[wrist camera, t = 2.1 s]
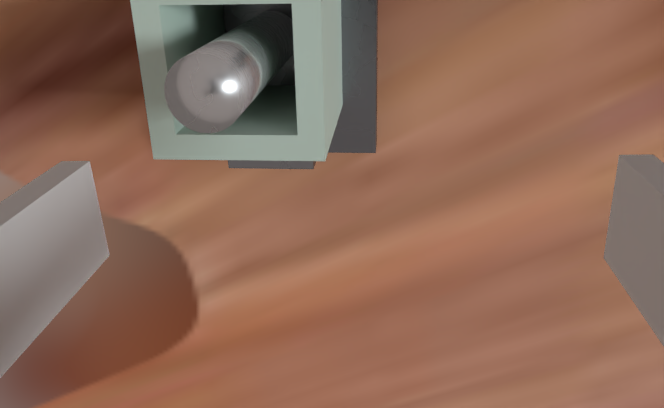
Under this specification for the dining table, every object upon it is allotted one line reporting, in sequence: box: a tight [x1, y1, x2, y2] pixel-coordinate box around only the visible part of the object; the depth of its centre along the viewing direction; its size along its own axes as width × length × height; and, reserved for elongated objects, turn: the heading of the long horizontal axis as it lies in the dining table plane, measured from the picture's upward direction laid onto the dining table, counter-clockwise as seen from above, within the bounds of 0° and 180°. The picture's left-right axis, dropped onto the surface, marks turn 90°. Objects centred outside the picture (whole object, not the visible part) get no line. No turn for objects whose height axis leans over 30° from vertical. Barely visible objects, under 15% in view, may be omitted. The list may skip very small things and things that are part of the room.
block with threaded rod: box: [164, 0, 378, 169], centre depth 30 cm, size 14×12×16 cm
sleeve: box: [130, 0, 343, 161], centre depth 31 cm, size 8×8×10 cm
